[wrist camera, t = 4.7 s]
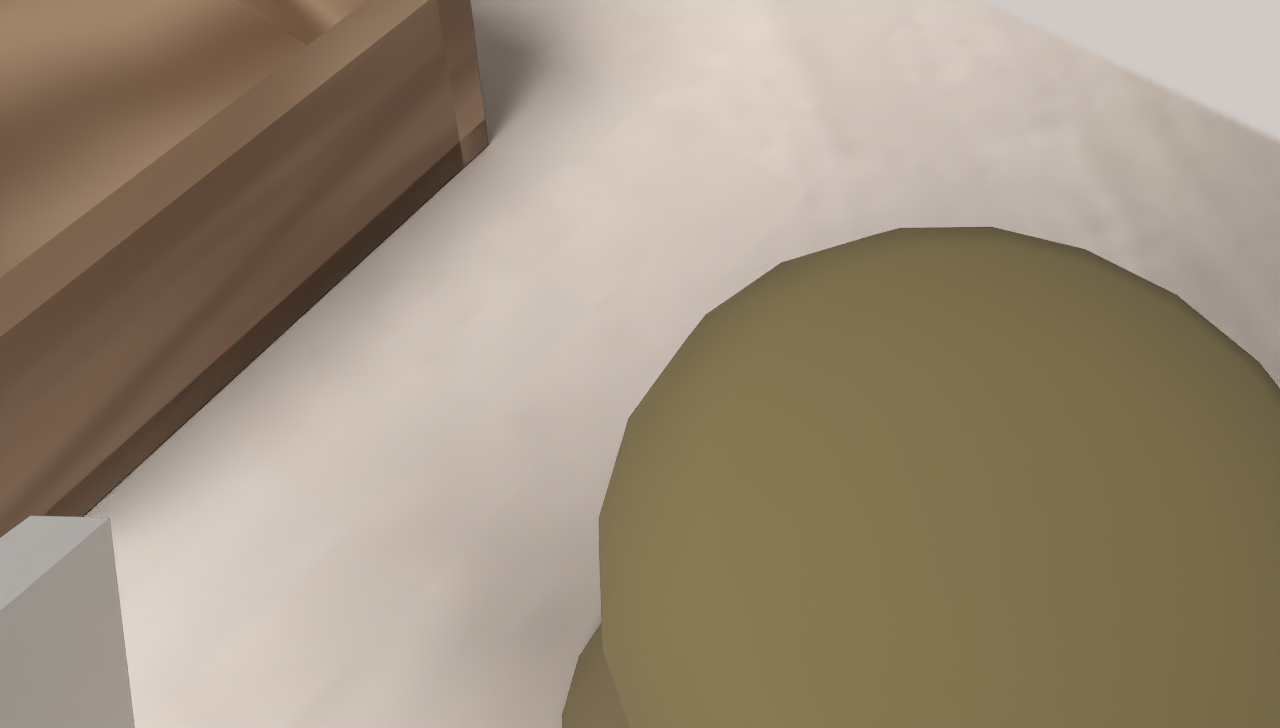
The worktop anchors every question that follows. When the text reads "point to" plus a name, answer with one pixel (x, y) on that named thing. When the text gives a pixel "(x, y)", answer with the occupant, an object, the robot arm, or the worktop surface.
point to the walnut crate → (195, 202)
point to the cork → (943, 504)
